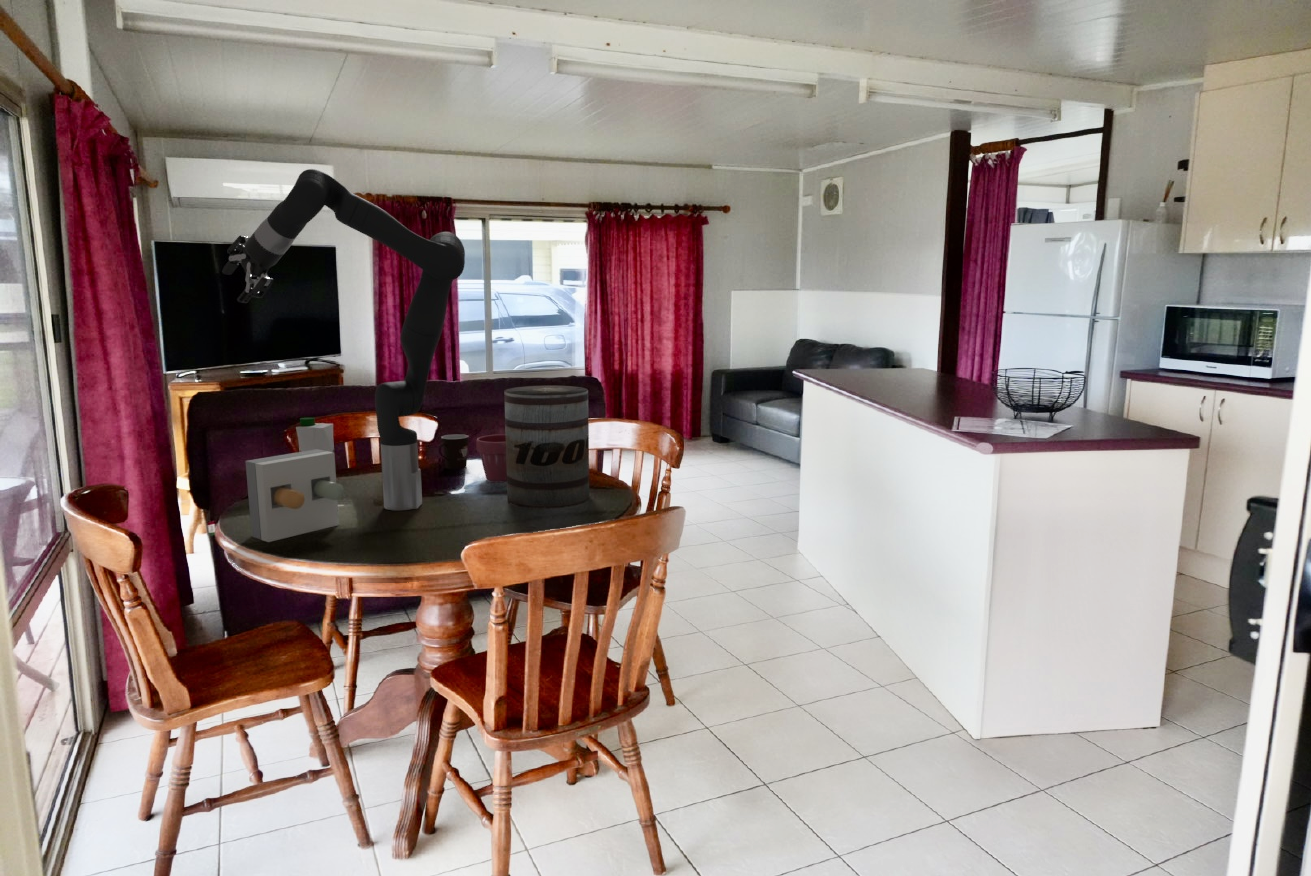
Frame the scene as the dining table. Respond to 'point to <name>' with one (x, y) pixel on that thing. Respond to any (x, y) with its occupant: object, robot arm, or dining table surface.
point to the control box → (295, 475)
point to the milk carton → (315, 435)
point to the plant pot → (493, 456)
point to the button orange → (289, 498)
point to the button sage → (329, 490)
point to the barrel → (547, 446)
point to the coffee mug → (455, 450)
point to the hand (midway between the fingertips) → (233, 287)
